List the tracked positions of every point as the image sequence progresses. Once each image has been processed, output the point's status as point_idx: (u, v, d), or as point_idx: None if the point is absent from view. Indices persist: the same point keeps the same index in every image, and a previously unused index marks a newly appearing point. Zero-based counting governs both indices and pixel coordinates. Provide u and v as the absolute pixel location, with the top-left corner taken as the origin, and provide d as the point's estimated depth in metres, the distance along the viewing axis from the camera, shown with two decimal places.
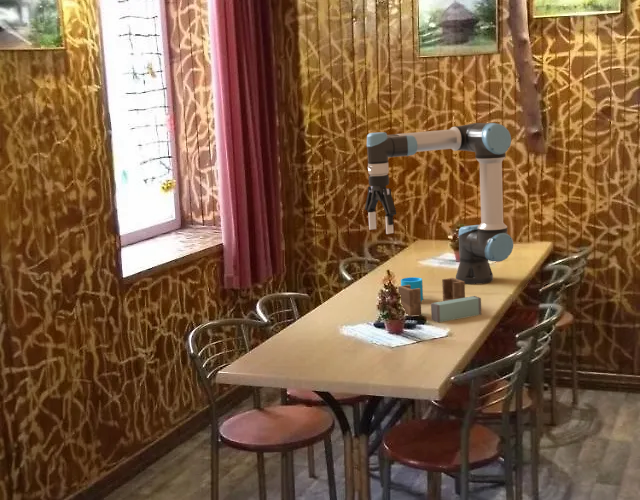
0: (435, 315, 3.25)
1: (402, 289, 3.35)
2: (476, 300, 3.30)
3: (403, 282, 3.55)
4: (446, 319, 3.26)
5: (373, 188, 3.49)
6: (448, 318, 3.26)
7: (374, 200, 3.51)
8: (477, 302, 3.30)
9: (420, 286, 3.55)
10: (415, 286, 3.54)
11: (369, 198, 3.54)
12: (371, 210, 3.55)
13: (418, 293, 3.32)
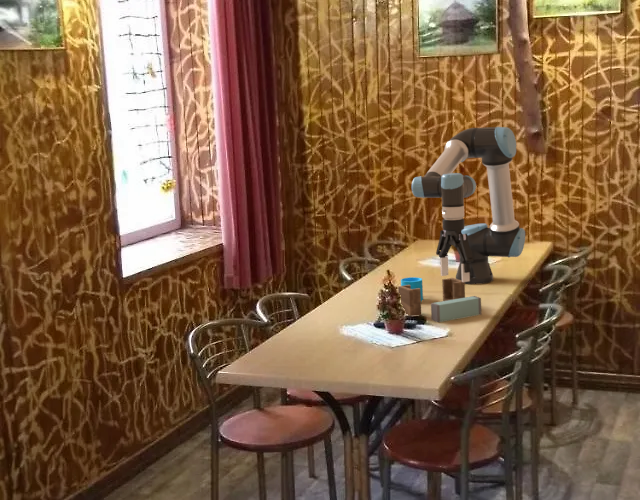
0: (435, 315, 3.25)
1: (402, 289, 3.35)
2: (476, 300, 3.30)
3: (403, 282, 3.55)
4: (446, 319, 3.26)
5: (447, 232, 3.26)
6: (448, 318, 3.26)
7: (447, 245, 3.28)
8: (477, 302, 3.30)
9: (420, 286, 3.55)
10: (415, 286, 3.54)
11: (441, 242, 3.31)
12: (443, 255, 3.32)
13: (418, 293, 3.32)
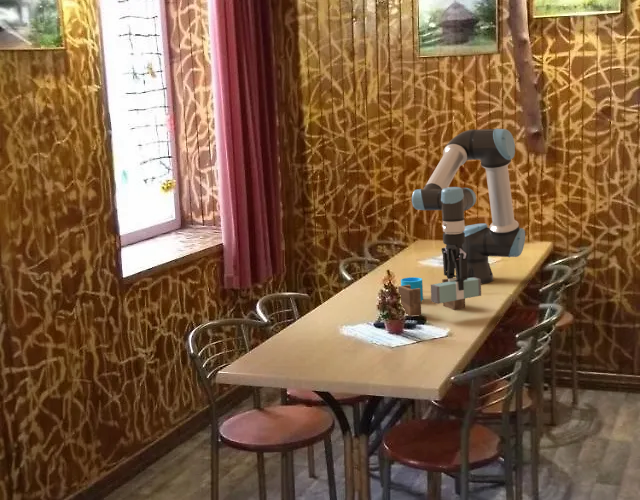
0: (435, 296, 3.24)
1: (402, 289, 3.35)
2: (476, 281, 3.29)
3: (403, 282, 3.55)
4: (446, 301, 3.25)
5: (447, 245, 3.27)
6: (448, 299, 3.25)
7: (451, 261, 3.28)
8: (477, 283, 3.29)
9: (420, 286, 3.55)
10: (415, 286, 3.54)
11: (446, 260, 3.30)
12: (451, 275, 3.30)
13: (418, 293, 3.32)
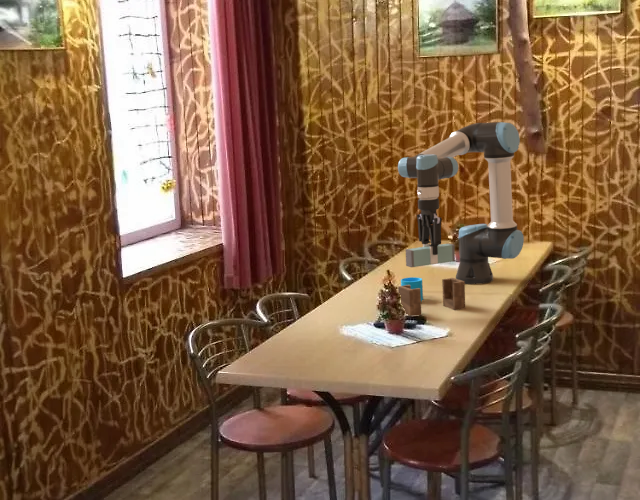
0: (409, 260, 3.33)
1: (402, 289, 3.35)
2: (450, 247, 3.38)
3: (403, 282, 3.55)
4: (420, 265, 3.33)
5: (422, 211, 3.36)
6: (422, 264, 3.34)
7: (426, 227, 3.36)
8: (451, 249, 3.38)
9: (420, 286, 3.55)
10: (415, 286, 3.54)
11: (421, 226, 3.39)
12: (426, 241, 3.39)
13: (418, 293, 3.32)
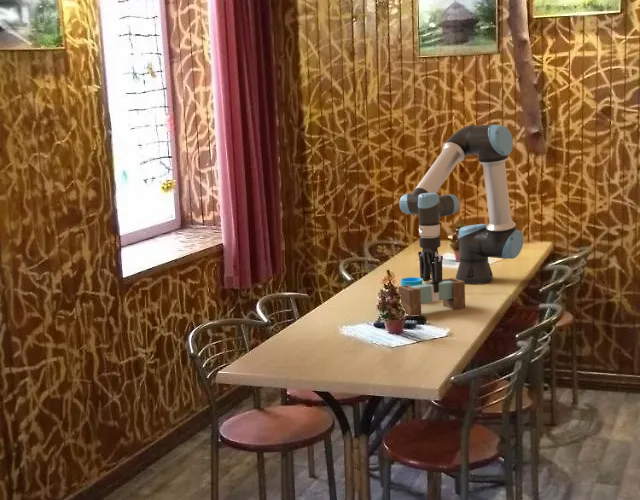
0: None
1: (402, 289, 3.35)
2: (451, 284, 3.40)
3: (403, 282, 3.55)
4: (421, 302, 3.36)
5: (423, 249, 3.39)
6: (423, 301, 3.36)
7: (427, 264, 3.39)
8: (452, 286, 3.40)
9: None
10: None
11: (422, 264, 3.42)
12: (427, 278, 3.41)
13: (418, 293, 3.32)
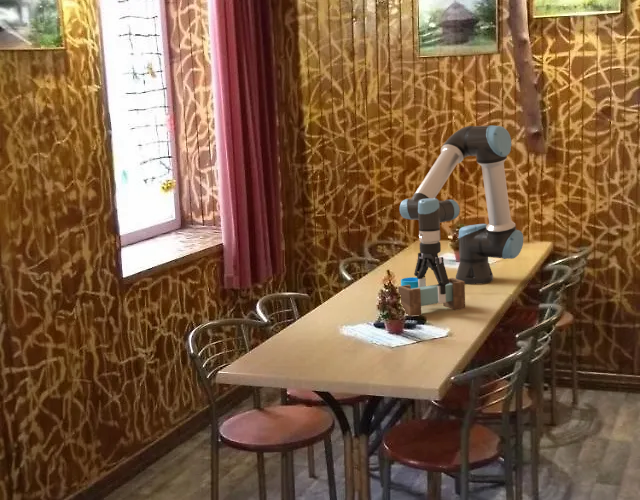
0: None
1: (402, 289, 3.35)
2: (451, 286, 3.40)
3: (403, 282, 3.55)
4: (422, 305, 3.36)
5: (424, 255, 3.39)
6: (423, 303, 3.36)
7: (425, 267, 3.41)
8: (452, 288, 3.40)
9: None
10: (415, 286, 3.54)
11: (419, 264, 3.44)
12: (421, 276, 3.45)
13: (418, 293, 3.32)
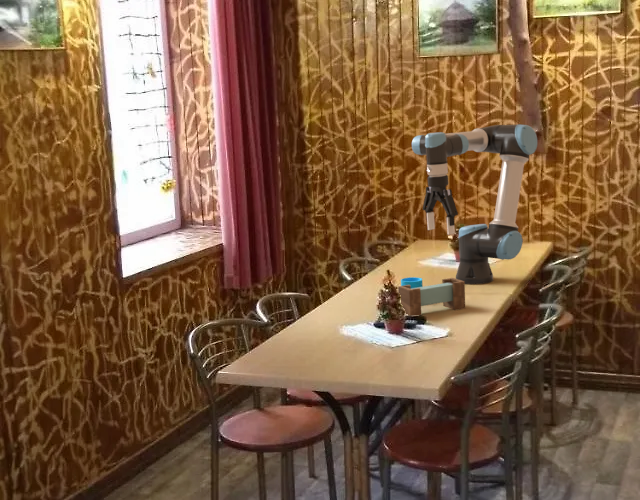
0: None
1: (402, 289, 3.35)
2: (451, 286, 3.40)
3: (403, 282, 3.55)
4: (422, 305, 3.36)
5: (432, 189, 3.47)
6: (423, 303, 3.36)
7: (433, 200, 3.49)
8: (452, 288, 3.40)
9: (420, 286, 3.55)
10: (415, 286, 3.54)
11: (427, 198, 3.52)
12: (429, 210, 3.53)
13: (418, 293, 3.32)
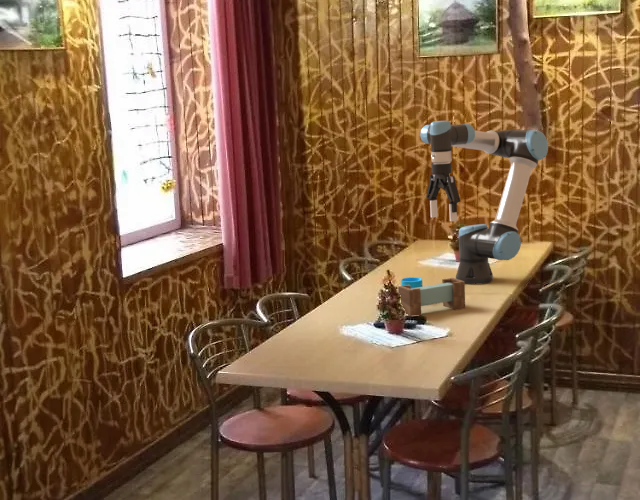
0: None
1: (402, 289, 3.35)
2: (451, 286, 3.40)
3: (403, 282, 3.55)
4: (422, 305, 3.36)
5: (436, 176, 3.51)
6: (423, 303, 3.36)
7: (436, 188, 3.53)
8: (452, 288, 3.40)
9: (420, 286, 3.55)
10: (415, 286, 3.54)
11: (431, 186, 3.56)
12: (433, 198, 3.58)
13: (418, 293, 3.32)
